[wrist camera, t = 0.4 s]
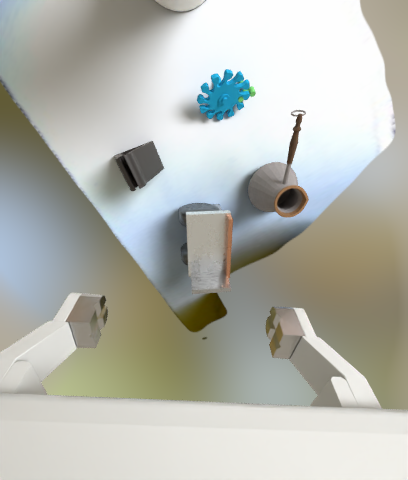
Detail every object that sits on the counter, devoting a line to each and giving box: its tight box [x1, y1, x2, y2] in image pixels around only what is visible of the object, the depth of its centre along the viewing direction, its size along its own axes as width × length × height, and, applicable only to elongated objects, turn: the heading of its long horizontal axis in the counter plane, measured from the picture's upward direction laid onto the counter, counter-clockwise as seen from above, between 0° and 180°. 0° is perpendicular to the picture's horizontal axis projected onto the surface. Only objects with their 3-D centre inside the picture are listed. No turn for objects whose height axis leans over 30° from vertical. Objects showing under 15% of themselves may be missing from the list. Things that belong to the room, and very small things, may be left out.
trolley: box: [179, 203, 233, 294], centre depth 53 cm, size 15×10×17 cm
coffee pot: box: [248, 110, 309, 217], centre depth 48 cm, size 21×12×15 cm, turn 7°
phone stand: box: [114, 141, 164, 191], centre depth 47 cm, size 9×6×12 cm, turn 109°
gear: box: [197, 69, 256, 120], centre depth 45 cm, size 11×6×10 cm
